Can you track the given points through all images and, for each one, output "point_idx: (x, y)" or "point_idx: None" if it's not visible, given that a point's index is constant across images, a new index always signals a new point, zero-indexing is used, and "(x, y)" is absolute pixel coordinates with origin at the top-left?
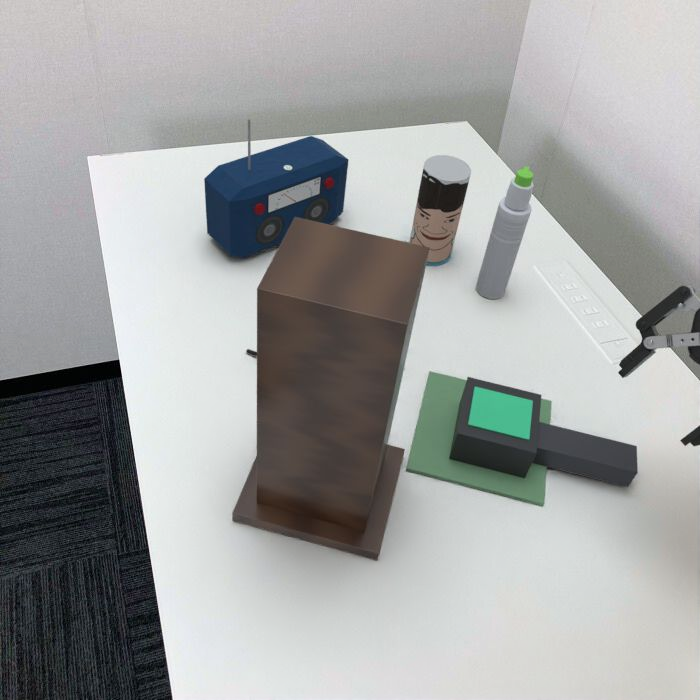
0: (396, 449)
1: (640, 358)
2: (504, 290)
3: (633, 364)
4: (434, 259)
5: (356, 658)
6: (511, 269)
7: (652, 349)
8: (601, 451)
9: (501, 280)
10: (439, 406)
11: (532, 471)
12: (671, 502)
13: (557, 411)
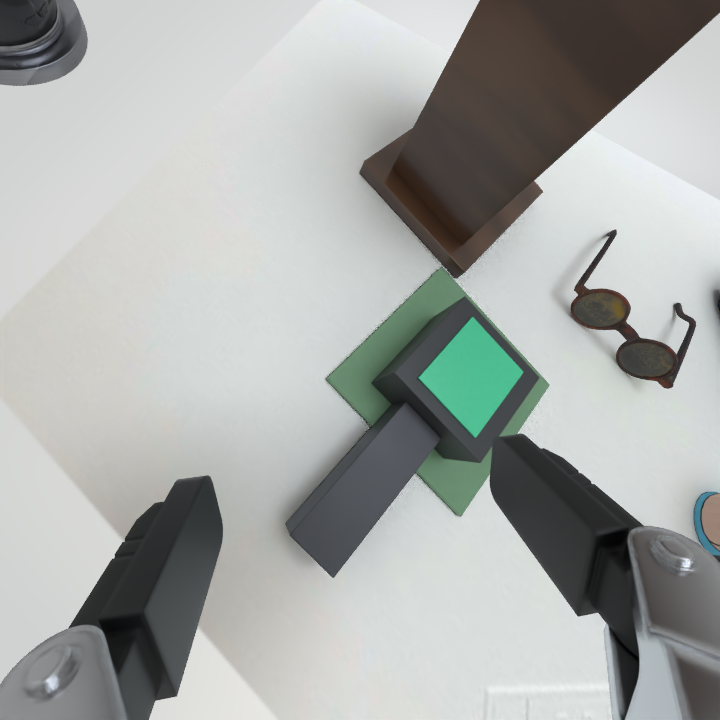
0: (467, 263)
1: (569, 494)
2: None
3: (542, 467)
4: (708, 515)
5: (281, 91)
6: None
7: (616, 564)
8: (353, 501)
9: None
10: None
11: (375, 400)
12: (225, 584)
13: (442, 516)
